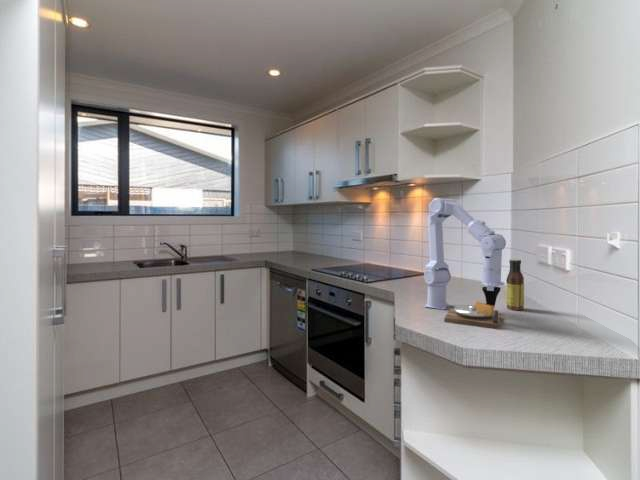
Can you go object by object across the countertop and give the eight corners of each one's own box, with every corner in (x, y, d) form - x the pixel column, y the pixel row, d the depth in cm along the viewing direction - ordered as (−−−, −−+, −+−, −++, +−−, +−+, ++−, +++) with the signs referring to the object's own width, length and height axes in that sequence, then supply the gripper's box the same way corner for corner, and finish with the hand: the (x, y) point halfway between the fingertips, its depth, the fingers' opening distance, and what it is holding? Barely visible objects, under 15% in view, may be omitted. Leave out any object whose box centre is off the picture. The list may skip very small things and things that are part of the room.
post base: (451, 311, 136) (451, 297, 136) (500, 317, 128) (501, 302, 128) (444, 321, 122) (444, 306, 122) (499, 329, 114) (499, 312, 114)
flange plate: (488, 308, 130) (488, 297, 130) (498, 318, 117) (499, 306, 117) (451, 306, 133) (451, 295, 132) (457, 316, 120) (457, 304, 119)
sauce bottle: (517, 307, 144) (519, 258, 143) (527, 310, 138) (529, 260, 137) (502, 307, 144) (503, 258, 143) (511, 310, 137) (512, 260, 136)
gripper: (504, 272, 114) (503, 314, 114) (505, 267, 126) (504, 304, 127) (480, 271, 117) (479, 311, 118) (483, 266, 130) (482, 302, 130)
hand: (490, 307), depth 123 cm, fingers closed
